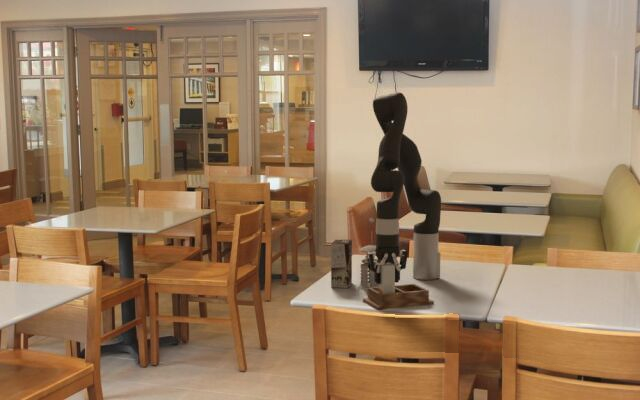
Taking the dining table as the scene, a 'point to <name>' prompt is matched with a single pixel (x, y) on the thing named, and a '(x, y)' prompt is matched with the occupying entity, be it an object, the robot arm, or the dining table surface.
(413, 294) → the wooden compartment tray
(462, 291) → the dining table surface
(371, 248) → the french press
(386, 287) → the skincare box
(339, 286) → the coffee box
